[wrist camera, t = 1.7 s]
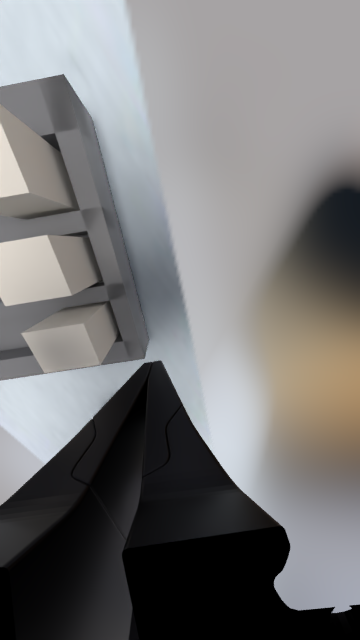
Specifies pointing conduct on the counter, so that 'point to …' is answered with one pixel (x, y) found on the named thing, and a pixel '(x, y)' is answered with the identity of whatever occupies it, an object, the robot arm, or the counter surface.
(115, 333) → the tab
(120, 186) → the counter surface
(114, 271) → the switch bank
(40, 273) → the beige rectangular block
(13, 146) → the cream rectangular block
